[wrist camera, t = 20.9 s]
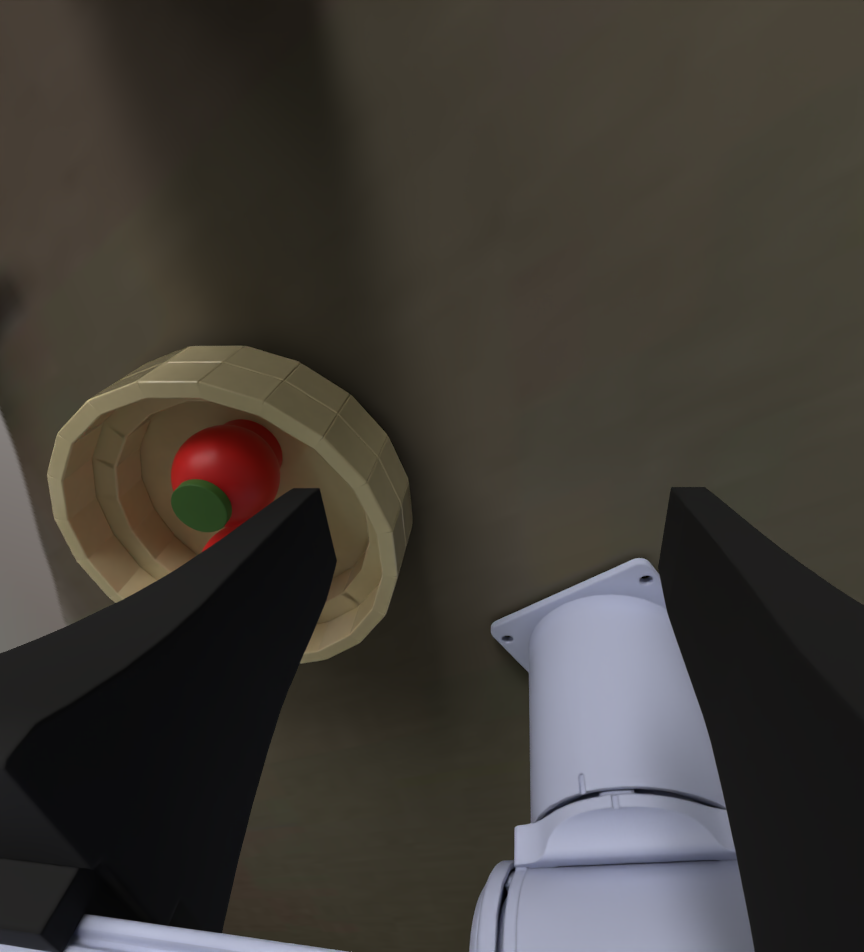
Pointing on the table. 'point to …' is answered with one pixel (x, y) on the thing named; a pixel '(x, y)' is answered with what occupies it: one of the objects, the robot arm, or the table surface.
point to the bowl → (303, 466)
